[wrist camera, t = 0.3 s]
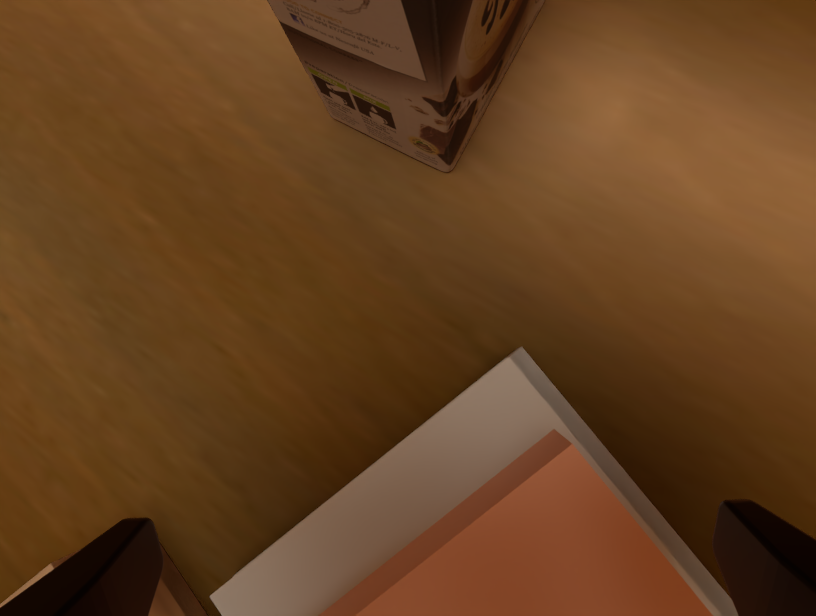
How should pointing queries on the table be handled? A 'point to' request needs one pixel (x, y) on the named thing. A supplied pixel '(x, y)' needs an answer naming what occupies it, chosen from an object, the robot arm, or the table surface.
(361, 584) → the terracotta rectangular block
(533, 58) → the table surface
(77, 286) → the table surface
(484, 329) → the table surface
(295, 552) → the book pile base
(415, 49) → the coffee box
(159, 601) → the shelf tray
